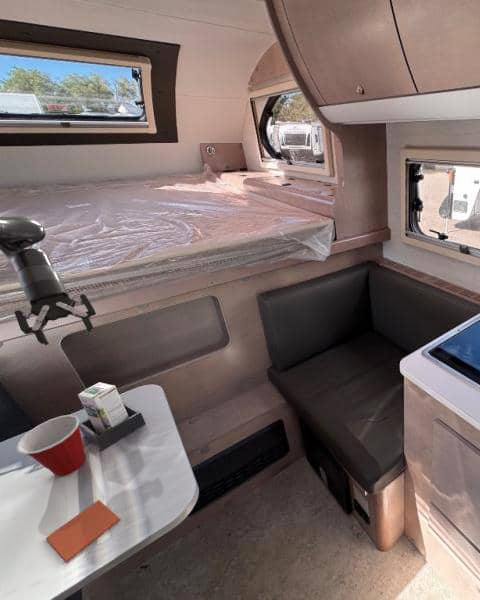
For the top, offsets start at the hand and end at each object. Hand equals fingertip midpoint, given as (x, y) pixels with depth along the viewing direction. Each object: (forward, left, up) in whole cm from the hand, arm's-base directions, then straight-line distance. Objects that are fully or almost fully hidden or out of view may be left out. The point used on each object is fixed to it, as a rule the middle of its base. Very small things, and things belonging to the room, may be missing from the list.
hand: (68, 337), depth 86 cm
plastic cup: (-14, -13, -27) cm, 33 cm away
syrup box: (-2, -10, -27) cm, 29 cm away
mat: (-19, -35, -27) cm, 48 cm away
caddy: (-2, -10, -27) cm, 29 cm away
